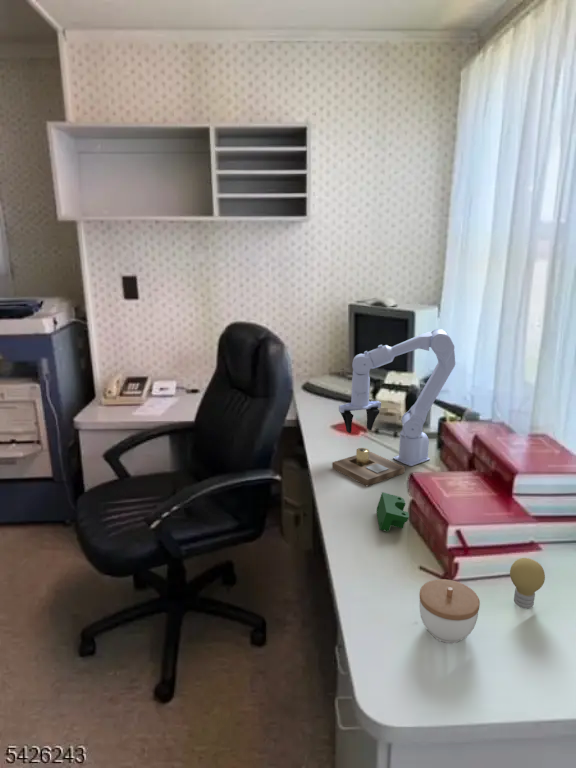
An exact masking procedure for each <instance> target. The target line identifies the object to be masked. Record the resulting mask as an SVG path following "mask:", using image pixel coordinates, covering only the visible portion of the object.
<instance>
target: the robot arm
mask: <svg viewBox="0 0 576 768" xmlns="http://www.w3.org/2000/svg"><path fill="white" fill-rule="evenodd" d="M430 348H431V351H432V352H433V353H434V354H435V356H436V359H437V364H436V366H435V367H434V369H433V371H432V373H431V374H430V377H429V378H428V380H427V381H426V383H425V385H424V387H423V388H422V390H421V391H420V393H419V395H418V397H417V399H416V401H415V402H414V404H413V405H411V407H410V408H409V410H408V411H407V412H405V413H403V415H402V416H401V424H402V429H401V431H400V432H399V449H398V455H395V456H393V457H392V459H394V460H396V461H398V462H399V463H402V464H404V465H407V466H408V467H413V466H416V465H419V464H422V463H424V462H427V461H429V460H430V459H431V458H430V457H429V447H430V446H429V445H430V440H429V437H428V436H427V434H426V433H425V432H423V430H424V424H425V422H426V420H427V415H428V413H429V411H430V409H431V408H432V406H433V404H434V403H435V401H436V399H437V397H438V396H439V394H440V392H441V390H442V389H443V387H444V385H445V384H446V382H447V380H448V379H449V376H450V375H451V373H452V372H453V370H454V368H455V366H456V355H455V344H454V342H453V340H452V338H451V337H450V336H449V334H448V333H447V331H445V330H444V329H442V328H436V329H434V330H432V331H431V330H430V331H427V332H423V333H421V334H418V335H416V336H414V337H412V338H409V339H407V340H405V341H402V342H400V343H397V344H395V345H393V346H389V345H388V344H385V345H383V344H379V345H378V346H377V347H376V348H373V349H372V350H369V351H368V350H365V351H364V352H363V353H359V354H356V355H355V356H354V357H353V359H352V364H351V365H352V366H351V367H352V378H351V397H350V399H351V402H347V403H345V404H341V405H338V412H339V413H340V414H341V417H342V418H343V422H344V425H345V429H346V432H347V433H348V434H351V433H352V429H353V428H352V427H353V418H354V414H352V411H353V412H355V411H363V410H364V411H366V429H368V430H369V431H372V429H373V426H374V423H375V420H376V419H377V417H378V415H379V414H380V409H381V407H382V402H381V401H379V400H373V401H372V400H371V401H370V388H371V387H370V384H371V378H370V372H371V370H373V369H376V368H380V367H382V366H384V365H387V364H390V363H392V362H393V361H394V359H395V357H398V356H400V355H403V354H406V353H410V352H413V351H415V350H418V349H419V350H424V351H430ZM421 462H422V463H421Z"/></svg>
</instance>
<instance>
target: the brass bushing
mask: <svg viewBox="0 0 576 768" xmlns="http://www.w3.org/2000/svg"><path fill="white" fill-rule="evenodd" d="M369 451H370V449H369V448H366V447H358V448H356V454H355V455H356V465H358V466H360V467H363V466H366V465H369Z"/></svg>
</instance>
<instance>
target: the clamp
mask: <svg viewBox="0 0 576 768" xmlns="http://www.w3.org/2000/svg"><path fill="white" fill-rule="evenodd" d="M405 506H406V500H405V499H404V498H403V497H401V496H398V495H395V494H390V493H386V492H383V491H382V492H381V494H380V498H379V500H378V504H377V507H376V517H377V522H378V527H379V530H380V531H384V532H390V529H391V527H396V528H399V529H404V526H405V523H408V520H409V518H410V513H409V511H405V510H404V509H405Z"/></svg>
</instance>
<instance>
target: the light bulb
mask: <svg viewBox="0 0 576 768" xmlns="http://www.w3.org/2000/svg"><path fill="white" fill-rule="evenodd" d="M509 570H510V571H509V576H510V579H511V582H512V585H514V587H515V588H514V595H513V602H514V604H515V605H516V606H518V607H520V608H521V609H526V610H528V609H531V608H533V607H534V605H535V597H536V593H535V592H537V591H539V590H540V589H541V588H542V587H543V585H544V583H545V580H546V574H545V570H544V568H543V566H542V565H541V564H540V563H539V562H538V561H536V560H534V559H532V558H530V557H529V558H527V557H520V558H518V559H517V560H515V561H514V562H512V565H511V566H510V569H509Z"/></svg>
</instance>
